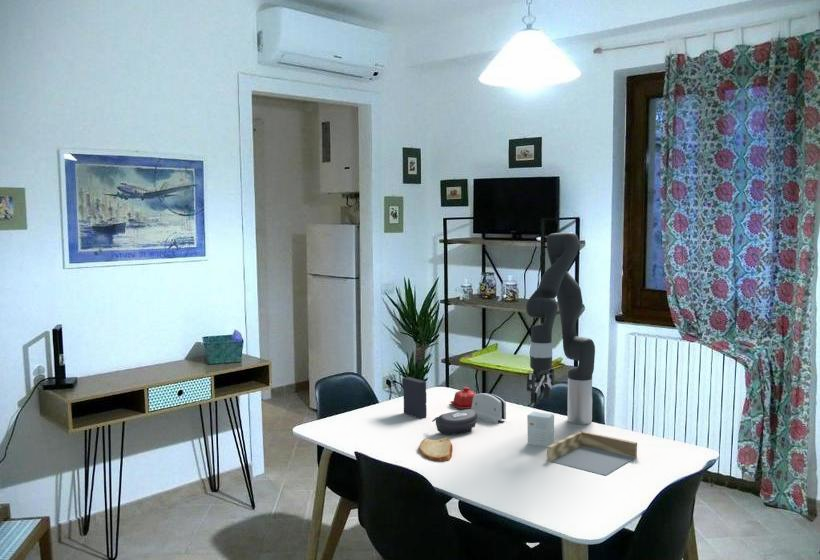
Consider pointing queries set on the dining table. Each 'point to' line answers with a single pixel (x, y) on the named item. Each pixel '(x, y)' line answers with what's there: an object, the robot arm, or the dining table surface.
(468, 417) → the glasses case
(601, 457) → the mat
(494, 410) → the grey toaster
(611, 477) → the dining table surface
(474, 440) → the dining table surface
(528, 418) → the small box
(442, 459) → the slice of bread
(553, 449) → the corner walls
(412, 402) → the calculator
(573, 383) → the robot arm
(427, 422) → the dining table surface
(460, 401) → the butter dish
